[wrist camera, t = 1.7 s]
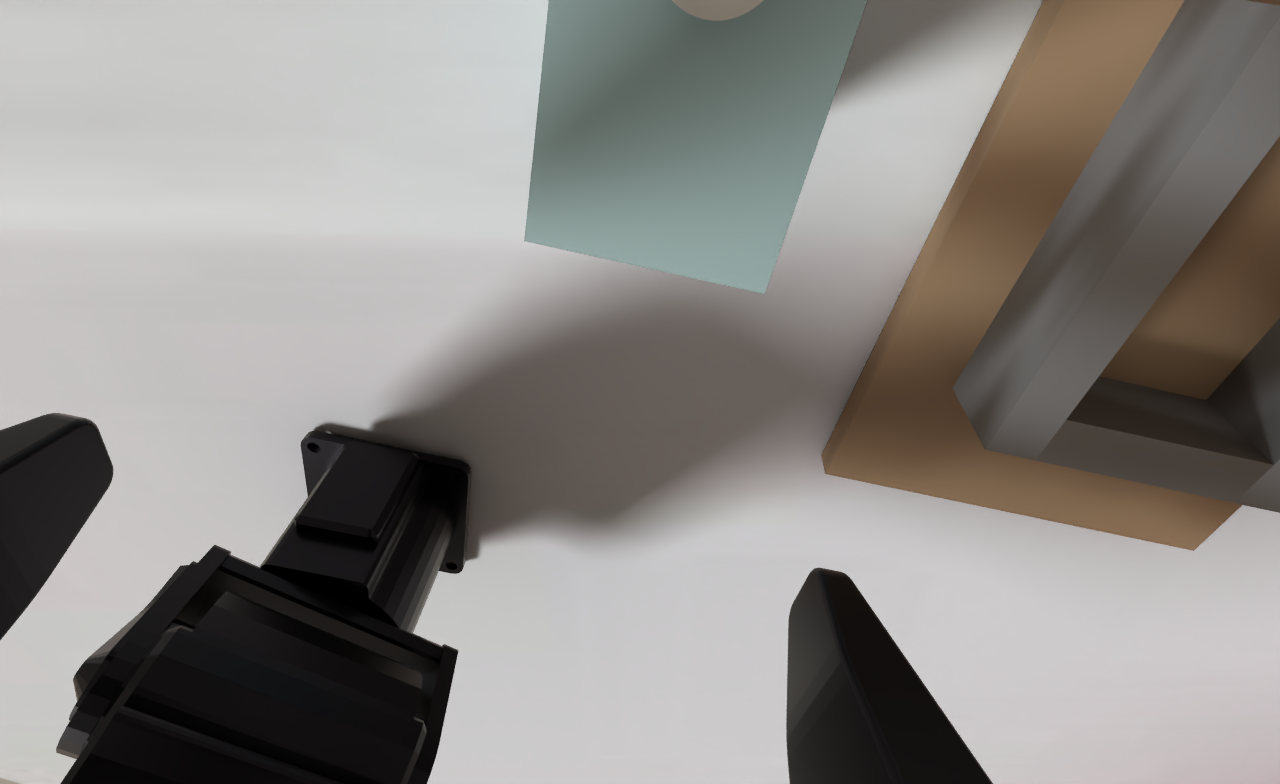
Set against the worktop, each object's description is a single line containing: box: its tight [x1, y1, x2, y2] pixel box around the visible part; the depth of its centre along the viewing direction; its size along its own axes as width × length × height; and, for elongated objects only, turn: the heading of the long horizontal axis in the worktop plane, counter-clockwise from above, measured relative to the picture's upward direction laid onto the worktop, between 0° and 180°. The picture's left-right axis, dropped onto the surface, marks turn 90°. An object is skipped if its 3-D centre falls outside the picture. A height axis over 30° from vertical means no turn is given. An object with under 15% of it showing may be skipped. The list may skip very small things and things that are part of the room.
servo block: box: [525, 0, 868, 294], centre depth 12 cm, size 6×4×10 cm, turn 169°
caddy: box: [821, 0, 1280, 551], centre depth 17 cm, size 20×14×4 cm
